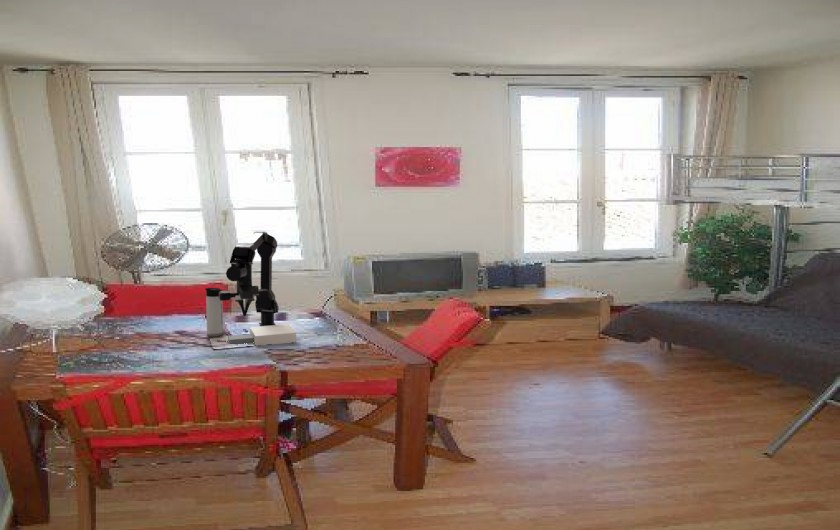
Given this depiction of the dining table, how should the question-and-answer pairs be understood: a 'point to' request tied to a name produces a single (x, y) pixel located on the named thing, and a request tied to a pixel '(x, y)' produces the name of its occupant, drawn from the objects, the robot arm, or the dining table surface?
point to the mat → (226, 340)
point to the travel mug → (214, 312)
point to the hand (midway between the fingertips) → (244, 315)
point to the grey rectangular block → (240, 339)
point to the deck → (273, 334)
